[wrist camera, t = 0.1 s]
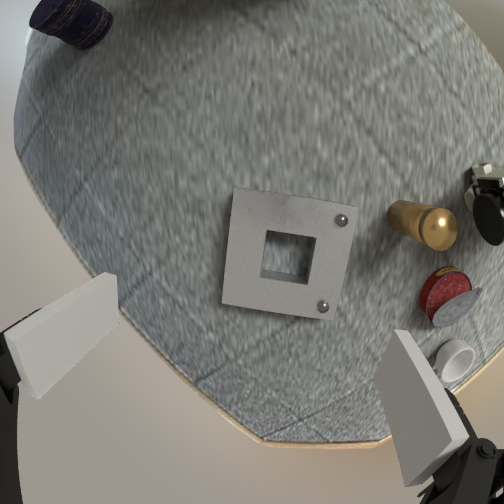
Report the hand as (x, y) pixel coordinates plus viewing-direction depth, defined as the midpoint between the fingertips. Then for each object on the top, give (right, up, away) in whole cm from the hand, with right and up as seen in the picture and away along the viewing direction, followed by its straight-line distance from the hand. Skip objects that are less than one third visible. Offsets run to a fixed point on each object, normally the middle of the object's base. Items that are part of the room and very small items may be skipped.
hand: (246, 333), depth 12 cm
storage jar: (-31, +47, +21) cm, 61 cm away
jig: (+5, +4, +27) cm, 28 cm away
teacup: (+37, -16, +29) cm, 49 cm away
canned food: (+33, -4, +26) cm, 42 cm away
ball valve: (+38, +14, +21) cm, 45 cm away
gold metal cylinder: (+22, +9, +24) cm, 34 cm away
